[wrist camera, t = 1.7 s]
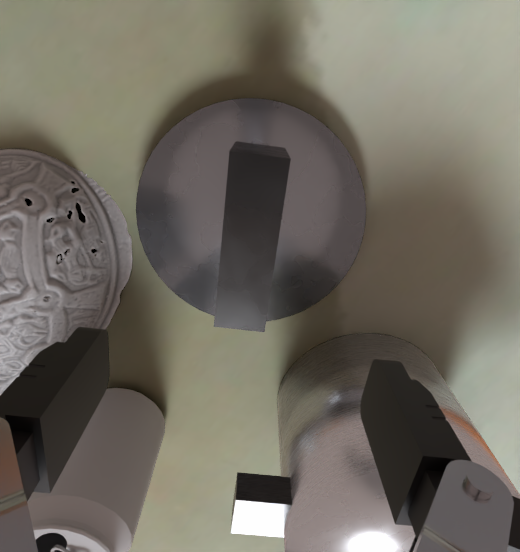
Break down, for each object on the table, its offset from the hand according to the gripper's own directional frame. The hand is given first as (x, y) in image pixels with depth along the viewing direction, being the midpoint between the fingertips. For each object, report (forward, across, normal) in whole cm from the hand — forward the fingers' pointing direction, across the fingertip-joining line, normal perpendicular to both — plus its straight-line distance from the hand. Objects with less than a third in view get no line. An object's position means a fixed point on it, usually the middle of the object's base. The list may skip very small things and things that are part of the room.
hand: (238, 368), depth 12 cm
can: (+17, +9, +19) cm, 27 cm away
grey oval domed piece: (+17, +18, +8) cm, 26 cm away
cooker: (+16, -11, +15) cm, 25 cm away
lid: (+16, 0, 0) cm, 17 cm away
